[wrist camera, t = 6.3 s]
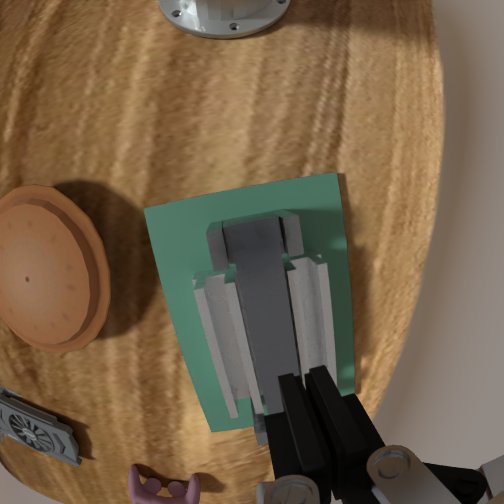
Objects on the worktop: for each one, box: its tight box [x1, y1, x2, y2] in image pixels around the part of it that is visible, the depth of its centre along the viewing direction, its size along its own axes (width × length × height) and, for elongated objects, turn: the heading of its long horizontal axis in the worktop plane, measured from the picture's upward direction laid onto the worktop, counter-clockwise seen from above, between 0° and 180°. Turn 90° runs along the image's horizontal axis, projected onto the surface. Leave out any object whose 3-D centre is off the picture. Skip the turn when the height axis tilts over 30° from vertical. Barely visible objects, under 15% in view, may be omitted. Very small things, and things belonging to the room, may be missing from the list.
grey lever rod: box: [227, 214, 299, 415], centre depth 21 cm, size 19×3×2 cm, turn 10°
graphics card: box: [0, 386, 82, 466], centre depth 27 cm, size 17×4×12 cm
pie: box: [0, 184, 111, 353], centre depth 22 cm, size 15×16×5 cm
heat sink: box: [192, 209, 337, 445], centre depth 23 cm, size 18×10×6 cm, turn 10°
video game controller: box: [128, 465, 200, 504], centre depth 29 cm, size 10×5×7 cm, turn 83°
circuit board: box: [144, 172, 355, 432], centre depth 27 cm, size 24×16×1 cm, turn 10°
